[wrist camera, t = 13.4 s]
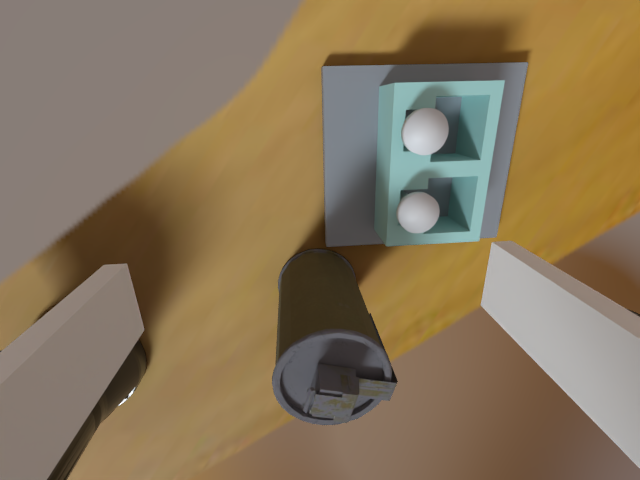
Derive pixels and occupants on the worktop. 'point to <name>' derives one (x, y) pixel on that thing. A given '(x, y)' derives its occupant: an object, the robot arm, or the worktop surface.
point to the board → (362, 141)
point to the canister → (327, 343)
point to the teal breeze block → (436, 159)
